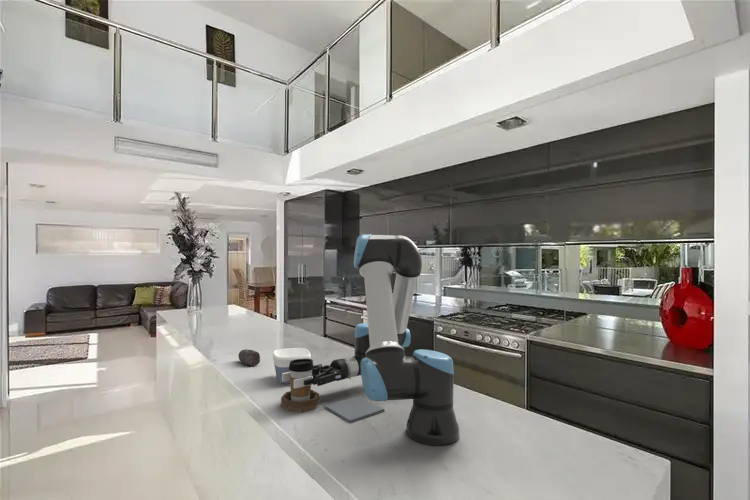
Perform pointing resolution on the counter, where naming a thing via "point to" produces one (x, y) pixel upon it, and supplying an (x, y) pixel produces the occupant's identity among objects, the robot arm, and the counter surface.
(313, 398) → the cup cradle
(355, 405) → the rubber mat
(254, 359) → the perforated stone tool
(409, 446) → the counter surface
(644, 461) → the counter surface
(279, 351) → the blue white tub
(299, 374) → the coffee cup
